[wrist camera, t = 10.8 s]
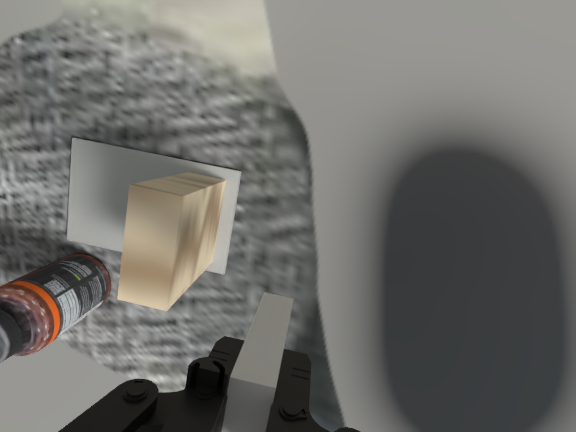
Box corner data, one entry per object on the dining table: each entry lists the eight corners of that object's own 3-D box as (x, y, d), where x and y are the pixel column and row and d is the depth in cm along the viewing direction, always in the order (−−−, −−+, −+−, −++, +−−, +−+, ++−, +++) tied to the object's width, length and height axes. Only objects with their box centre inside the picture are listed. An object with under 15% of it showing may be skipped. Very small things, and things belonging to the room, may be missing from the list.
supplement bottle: (56, 298, 36) (-61, 365, 25) (61, 245, 35) (-59, 291, 24) (110, 313, 36) (16, 388, 25) (118, 260, 35) (22, 315, 24)
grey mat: (75, 137, 32) (72, 137, 32) (241, 171, 32) (240, 171, 31) (69, 238, 35) (66, 239, 34) (225, 272, 34) (224, 274, 33)
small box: (188, 171, 32) (128, 184, 22) (226, 180, 31) (182, 196, 22) (176, 253, 33) (116, 298, 24) (212, 262, 33) (166, 311, 23)
